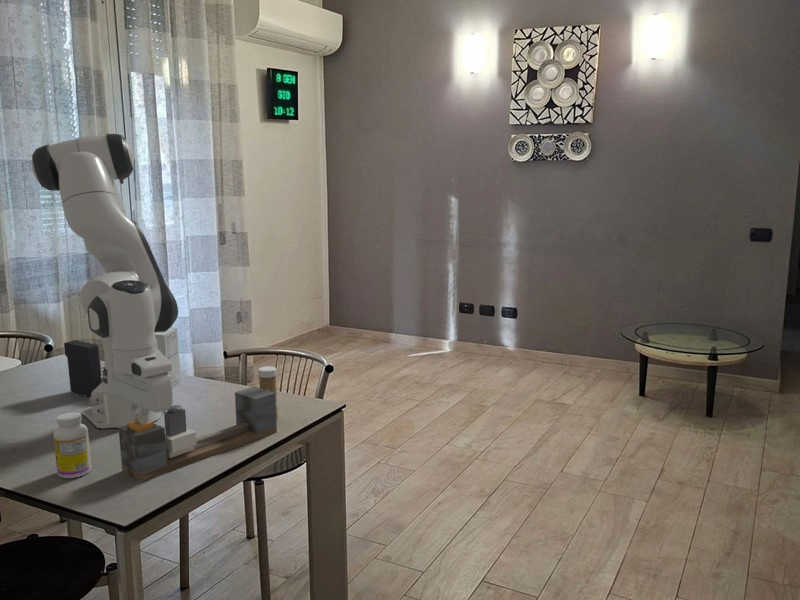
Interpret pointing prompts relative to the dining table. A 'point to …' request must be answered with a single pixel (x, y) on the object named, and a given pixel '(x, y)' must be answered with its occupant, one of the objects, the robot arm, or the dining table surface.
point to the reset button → (140, 426)
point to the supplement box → (170, 351)
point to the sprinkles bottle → (268, 381)
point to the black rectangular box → (83, 366)
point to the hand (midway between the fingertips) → (140, 422)
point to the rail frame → (148, 447)
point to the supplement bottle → (71, 446)
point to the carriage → (178, 432)
